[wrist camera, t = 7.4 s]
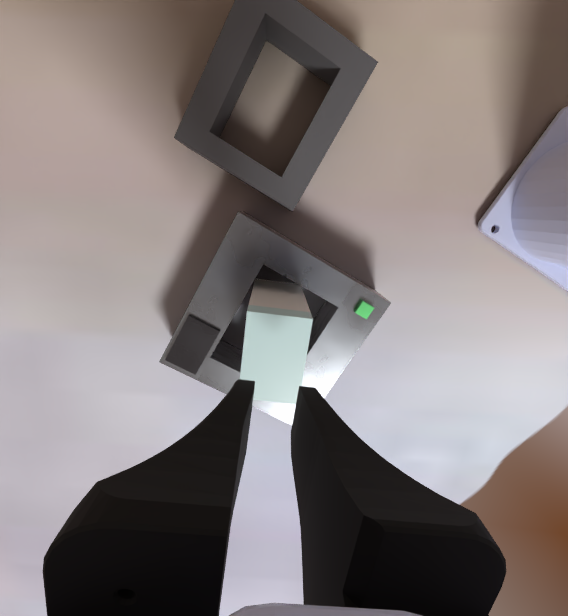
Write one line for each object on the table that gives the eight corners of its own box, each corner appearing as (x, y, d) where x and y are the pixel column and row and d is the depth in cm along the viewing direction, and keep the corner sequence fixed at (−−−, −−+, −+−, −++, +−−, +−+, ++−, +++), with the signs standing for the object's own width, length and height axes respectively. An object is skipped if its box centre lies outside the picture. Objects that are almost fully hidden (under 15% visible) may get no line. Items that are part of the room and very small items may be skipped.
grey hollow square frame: (364, 81, 18) (378, 62, 16) (290, 210, 20) (293, 211, 17) (253, 0, 17) (250, -35, 14) (186, 146, 19) (173, 137, 16)
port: (375, 290, 22) (392, 304, 18) (298, 403, 24) (301, 433, 21) (243, 211, 20) (237, 211, 17) (173, 342, 22) (157, 364, 19)
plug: (300, 284, 21) (312, 319, 15) (290, 346, 23) (298, 404, 16) (255, 278, 21) (247, 311, 14) (248, 341, 22) (237, 398, 16)
